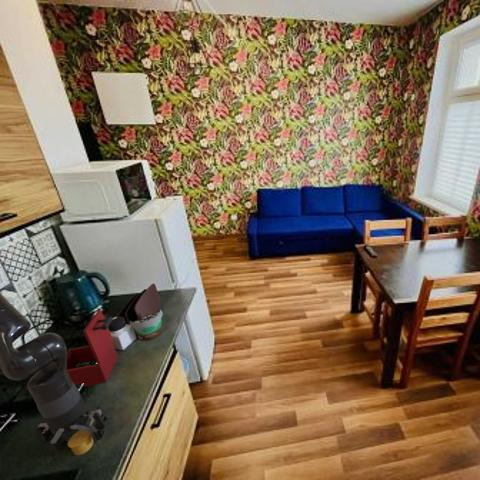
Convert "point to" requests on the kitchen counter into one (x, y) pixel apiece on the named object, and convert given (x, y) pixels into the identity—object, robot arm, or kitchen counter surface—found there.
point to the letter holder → (141, 305)
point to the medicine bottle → (121, 333)
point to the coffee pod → (80, 442)
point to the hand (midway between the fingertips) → (82, 442)
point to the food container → (148, 326)
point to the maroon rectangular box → (91, 372)
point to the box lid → (99, 335)
